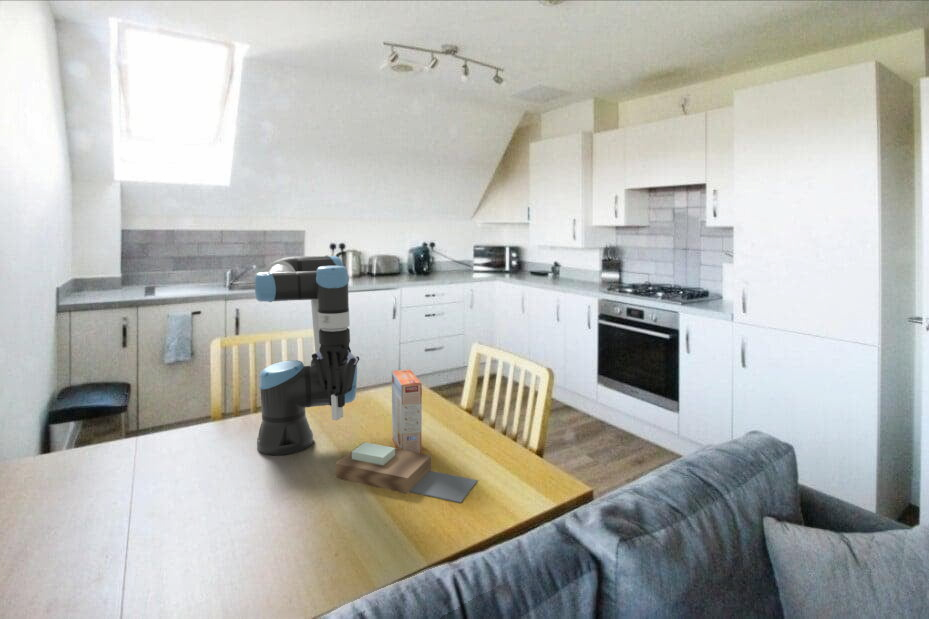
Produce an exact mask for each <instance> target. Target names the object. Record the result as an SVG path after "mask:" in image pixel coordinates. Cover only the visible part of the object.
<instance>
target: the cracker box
mask: <svg viewBox="0 0 929 619" xmlns="http://www.w3.org/2000/svg"><path fill="white" fill-rule="evenodd" d="M422 384H423V383H422V382H421V381H420V380H419V378H418V377H417V376H416V375H415V374H414V372H413V371H412V370H411V369H400V370H392V371H391V421H392V422H391V424H392V428H391V430H392V431H391V435H392V436H391V437H392V441H393V444H394V445H395V447H396V449H400V450H405V451H411V452H416V453H421V454H423V453H422V452H423V450H422V443H423V442H422V439H423V438H422V426H423V425H422V424H423V422H422V421H423V420H422V418H423V417H422V414H423V413H422V412H423V411H422V410H423V409H422V408H423V407H422V406H423V405H422V403H423V402H422V400H423V399H422V398H423V394H422V392H423V391H422V390H423V389H422V388H423V387H422V386H423V385H422Z"/></svg>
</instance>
